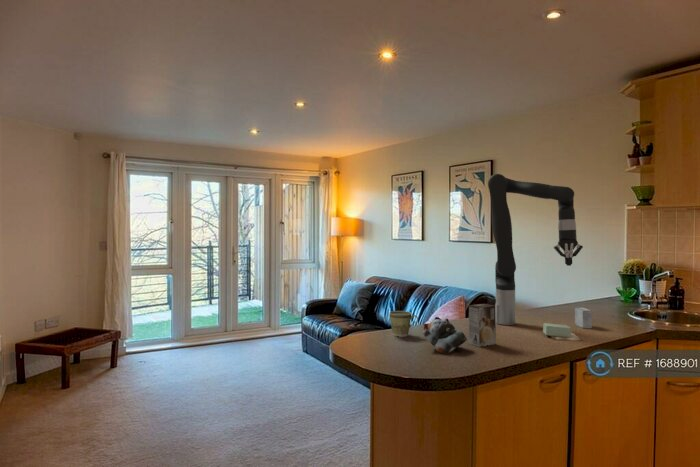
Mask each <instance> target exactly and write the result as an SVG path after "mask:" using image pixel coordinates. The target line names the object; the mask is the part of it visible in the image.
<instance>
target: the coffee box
mask: <svg viewBox="0 0 700 467" xmlns="http://www.w3.org/2000/svg"><path fill="white" fill-rule="evenodd" d="M496 329H497V328H496V322H495V304H487V303H479V304H470V305H468V344H469V345H472V344H473V345H472V346H475V345H476V347H478V346H479V348H482V347H487V345H488V346H492V345H496V343H497V341H496V337H497V335H496V333H497V332H496ZM481 346H482V347H481Z"/></svg>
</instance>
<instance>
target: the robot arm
mask: <svg viewBox="0 0 700 467" xmlns="http://www.w3.org/2000/svg"><path fill="white" fill-rule="evenodd" d="M487 187H488V192H489V196H490V201H491V202H490V203H491V228H492V234H493V240H494V242H495V246H496V250H497V251H496V252H497V259H496V262H495V268H494V269H495V273H494V274H495V275H494V276H495V281H494V282H495V304H494V306H495V324H497V325H503V326H504V325H505V326H510V325H511V326H513V325H516V281H515V280H516V279H515V273H516V270H517V269H516V268H517V265H516V261H515V260H516V259H515V256H514V249H513V226H512V224H513V223H512V217H511V214H510V213H511V212H510V208H509V205H508V199H507V194H509V193H510V194H518V195H519V194H520V195H524V196H528V197H533V198H538V199H545V200H554V201H557V205H558V214H557V215H558V225H557V226H558V227H557V229H558V242H557V244H556V245H554V246H553V249H554V250H555V251H556V252H557V254H558V255H559V256H560V257H562V258H564V264H565V265H566V266H567V267H570V266H572V265H573V258H574V257H577V256H578V254H579V253H580V252H581V250H582V249H583V247H584V246H583V245H581V244H579V242H578V239H577V238H578V237H577V224H576V214H575V213H576V212H575V206H574V203H575V202H574V201H575V200H574V197H575V191H574V190H573V189H572V188H571V187H569V186H561V185H551V184H547V183H546V184H545V183H542V182H532V181H521V180H520V181H519V180H515V179H511V178H507V177H506V176H504V175H503V174H501V173H495V174H492V175H491V176H490V177H489V178H488V181H487ZM560 248H561V249H560ZM575 248H576V249H575ZM562 250H563V251H562Z"/></svg>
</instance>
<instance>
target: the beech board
mask: <svg viewBox="0 0 700 467" xmlns="http://www.w3.org/2000/svg"><path fill="white" fill-rule="evenodd" d="M548 337H550V338H551V339H552V340H553V339H554V340H556V341H557V340H558V341H573V342H574V341H575V342H576V341H577V342H578V341H579V342H581V341H582V339H581V338H580V337H579V336H577V335H576V334H575V333H573V332H571V337H562V336H552V335H548Z"/></svg>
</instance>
